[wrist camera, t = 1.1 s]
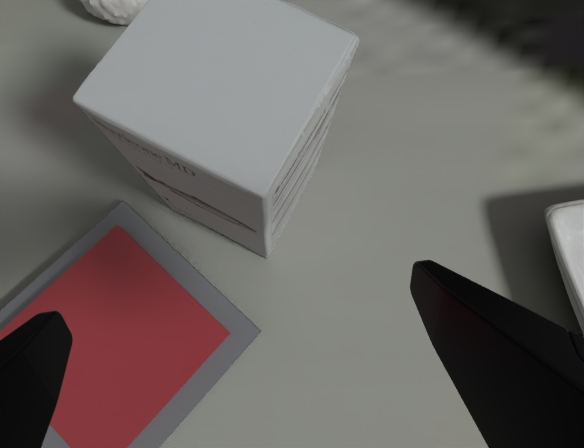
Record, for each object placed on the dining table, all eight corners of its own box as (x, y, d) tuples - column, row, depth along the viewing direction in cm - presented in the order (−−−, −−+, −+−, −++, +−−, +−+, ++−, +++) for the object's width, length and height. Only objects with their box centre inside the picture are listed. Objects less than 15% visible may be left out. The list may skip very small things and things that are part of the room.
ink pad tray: (107, 505, 19) (95, 519, 18) (-32, 348, 20) (-54, 350, 19) (261, 331, 22) (260, 331, 20) (127, 204, 23) (118, 197, 22)
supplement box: (169, 211, 23) (57, 94, 11) (227, 124, 25) (185, -58, 13) (267, 264, 23) (263, 203, 11) (319, 171, 25) (365, 27, 12)
